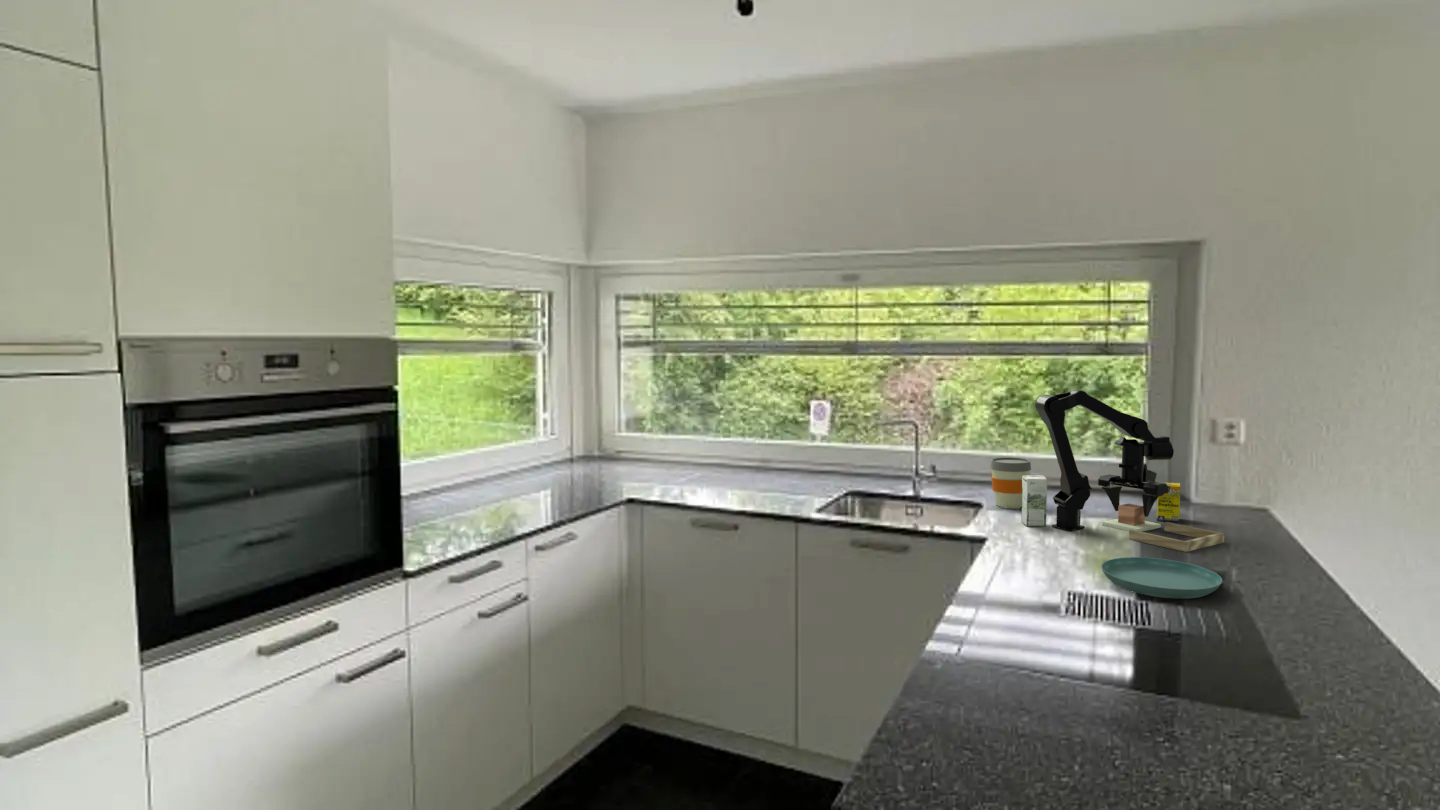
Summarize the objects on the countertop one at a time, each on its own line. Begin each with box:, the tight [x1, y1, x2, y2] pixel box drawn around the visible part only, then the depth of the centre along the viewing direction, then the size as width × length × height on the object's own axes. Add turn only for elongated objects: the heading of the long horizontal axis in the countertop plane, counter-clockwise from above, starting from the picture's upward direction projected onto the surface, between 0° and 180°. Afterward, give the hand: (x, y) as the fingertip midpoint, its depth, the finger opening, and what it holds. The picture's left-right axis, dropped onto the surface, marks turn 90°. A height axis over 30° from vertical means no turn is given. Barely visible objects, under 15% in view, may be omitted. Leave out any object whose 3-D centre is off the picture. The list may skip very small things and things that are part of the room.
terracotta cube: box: [1117, 503, 1146, 526], centre depth 242 cm, size 5×5×5 cm
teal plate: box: [1100, 556, 1223, 600], centre depth 188 cm, size 24×24×3 cm
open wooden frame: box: [1128, 521, 1225, 553], centre depth 225 cm, size 17×16×2 cm
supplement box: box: [1156, 481, 1181, 524], centre depth 248 cm, size 6×6×11 cm
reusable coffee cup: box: [990, 456, 1032, 509], centre depth 272 cm, size 13×12×15 cm
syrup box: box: [1021, 474, 1048, 527], centre depth 246 cm, size 6×6×14 cm
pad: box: [1101, 518, 1162, 532], centre depth 242 cm, size 11×11×1 cm
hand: (1131, 513), depth 242 cm, fingers open, 9 cm apart
